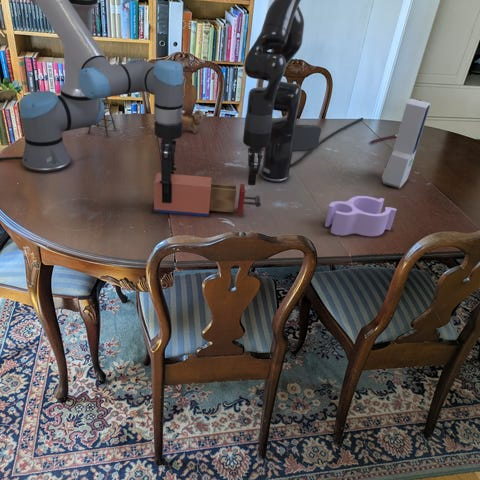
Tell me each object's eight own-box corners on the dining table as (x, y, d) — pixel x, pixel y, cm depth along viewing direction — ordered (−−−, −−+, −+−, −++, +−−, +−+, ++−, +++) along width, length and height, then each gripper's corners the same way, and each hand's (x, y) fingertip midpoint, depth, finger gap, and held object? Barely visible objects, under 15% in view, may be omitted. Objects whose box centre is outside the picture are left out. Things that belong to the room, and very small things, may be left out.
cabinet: (209, 206, 145) (211, 177, 140) (208, 216, 140) (211, 186, 135) (156, 201, 144) (156, 172, 139) (153, 212, 139) (154, 182, 133)
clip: (337, 240, 135) (342, 219, 131) (318, 218, 145) (322, 198, 141) (395, 233, 141) (402, 213, 137) (373, 213, 151) (378, 194, 147)
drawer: (258, 208, 145) (261, 185, 141) (259, 216, 141) (262, 193, 137) (192, 203, 144) (194, 179, 140) (191, 211, 140) (193, 187, 135)
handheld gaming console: (315, 147, 196) (319, 124, 190) (317, 149, 194) (322, 126, 188) (264, 149, 189) (267, 125, 183) (266, 152, 187) (269, 127, 181)
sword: (407, 132, 223) (408, 129, 223) (413, 134, 221) (413, 131, 221) (364, 143, 208) (365, 141, 207) (370, 146, 206) (370, 143, 205)
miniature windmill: (107, 136, 184) (102, 57, 168) (87, 133, 185) (80, 54, 169) (116, 129, 192) (112, 52, 176) (97, 126, 193) (91, 49, 177)
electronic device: (399, 190, 168) (424, 107, 152) (379, 183, 171) (402, 102, 155) (408, 178, 177) (433, 100, 161) (389, 173, 180) (411, 95, 164)
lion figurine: (200, 128, 202) (201, 108, 197) (204, 133, 198) (205, 112, 193) (167, 129, 197) (167, 108, 192) (170, 134, 193) (170, 113, 188)
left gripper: (179, 135, 119) (177, 213, 132) (184, 111, 135) (183, 183, 148) (149, 132, 119) (151, 211, 131) (158, 109, 135) (159, 181, 147)
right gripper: (273, 137, 123) (265, 195, 133) (269, 120, 134) (262, 175, 144) (245, 135, 123) (239, 193, 132) (243, 118, 134) (238, 173, 143)
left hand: (168, 196), depth 139 cm, fingers closed on cabinet, 6 cm apart
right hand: (251, 184), depth 138 cm, fingers closed
